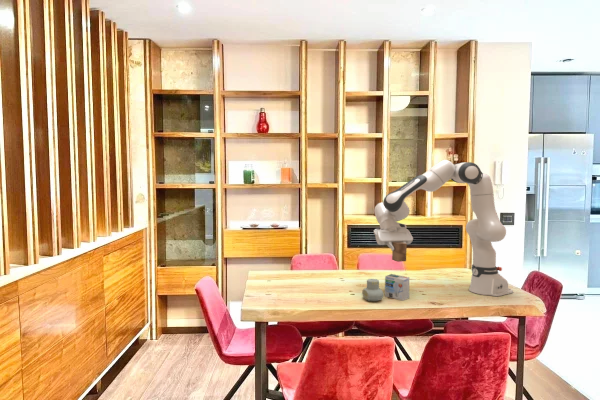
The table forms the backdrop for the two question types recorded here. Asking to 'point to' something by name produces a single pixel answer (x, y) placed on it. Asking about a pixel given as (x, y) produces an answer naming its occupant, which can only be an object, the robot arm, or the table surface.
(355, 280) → the table surface
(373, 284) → the air freshener
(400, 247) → the walnut block
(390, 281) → the light bulb box
